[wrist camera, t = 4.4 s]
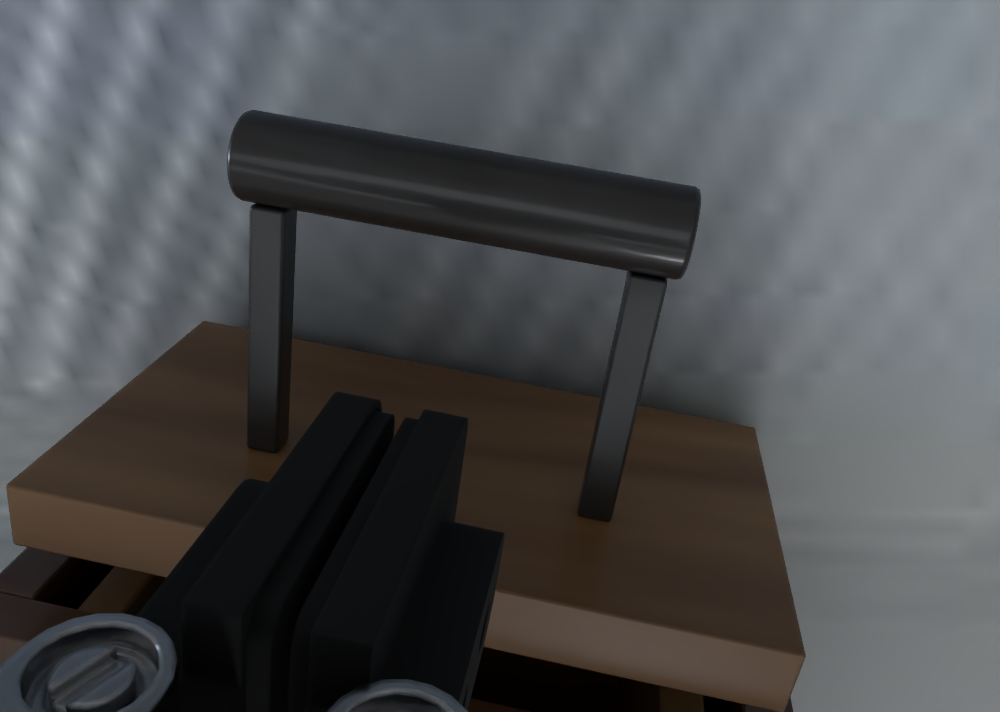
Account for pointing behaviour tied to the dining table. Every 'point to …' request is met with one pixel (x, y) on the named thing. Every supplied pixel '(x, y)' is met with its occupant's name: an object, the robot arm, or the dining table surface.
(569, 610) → the drawer
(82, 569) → the cabinet
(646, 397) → the dining table surface
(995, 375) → the dining table surface
